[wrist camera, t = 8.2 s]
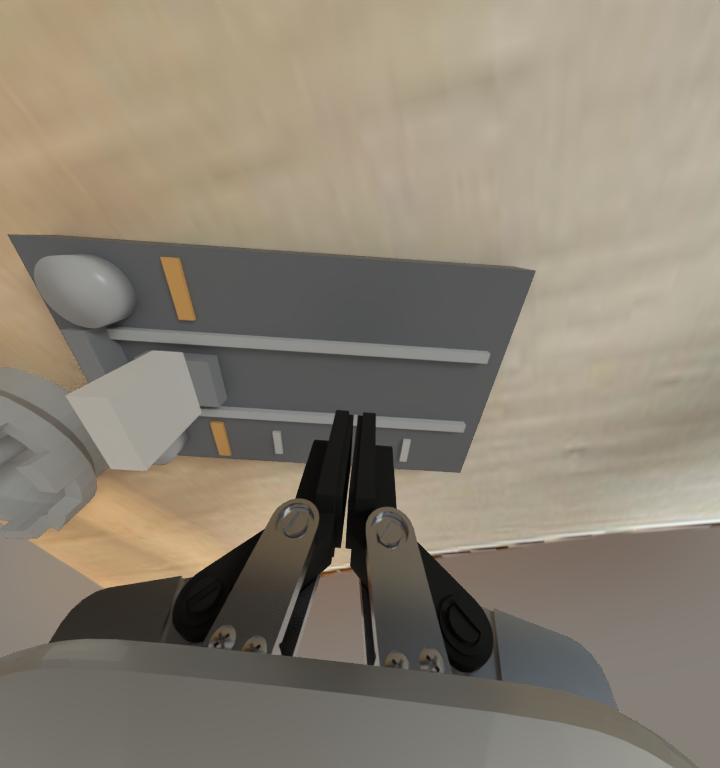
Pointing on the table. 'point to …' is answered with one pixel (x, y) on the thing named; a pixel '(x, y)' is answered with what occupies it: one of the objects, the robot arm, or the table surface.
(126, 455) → the fader tab
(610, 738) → the robot arm
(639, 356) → the table surface
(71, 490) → the flag stand
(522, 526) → the table surface
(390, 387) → the console
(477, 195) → the table surface
